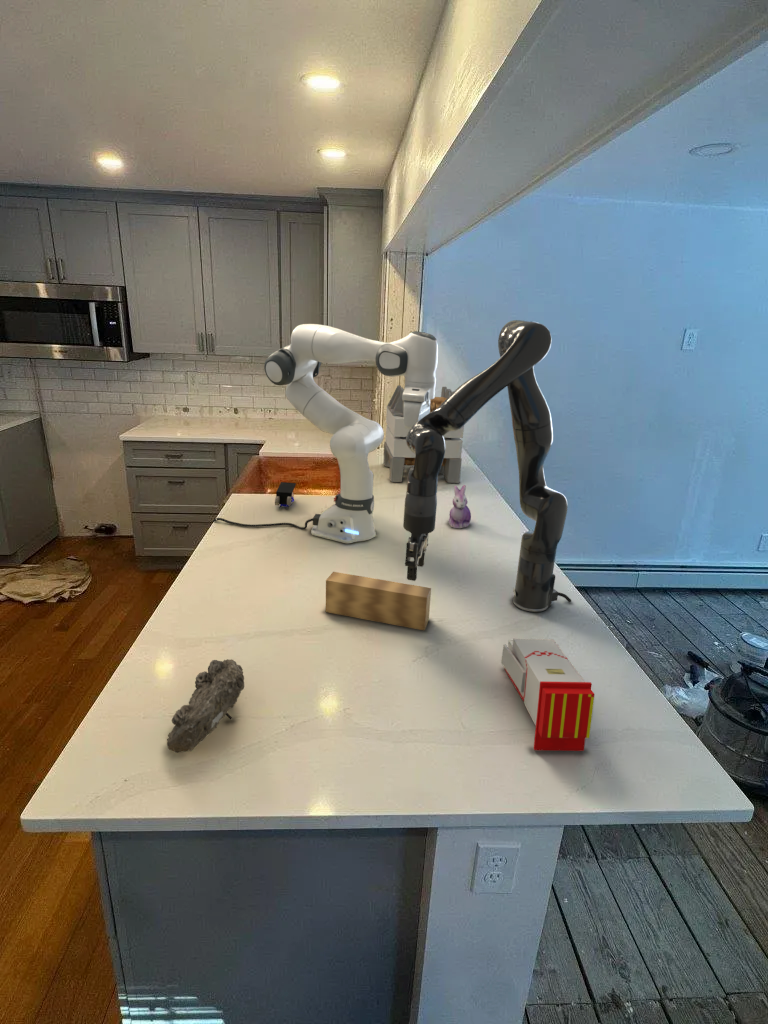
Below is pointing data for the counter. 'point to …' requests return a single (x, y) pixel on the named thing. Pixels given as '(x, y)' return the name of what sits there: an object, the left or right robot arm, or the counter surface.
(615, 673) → the counter surface
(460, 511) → the figurine
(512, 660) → the toy
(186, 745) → the fossil
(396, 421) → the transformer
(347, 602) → the bar
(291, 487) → the figurine character
